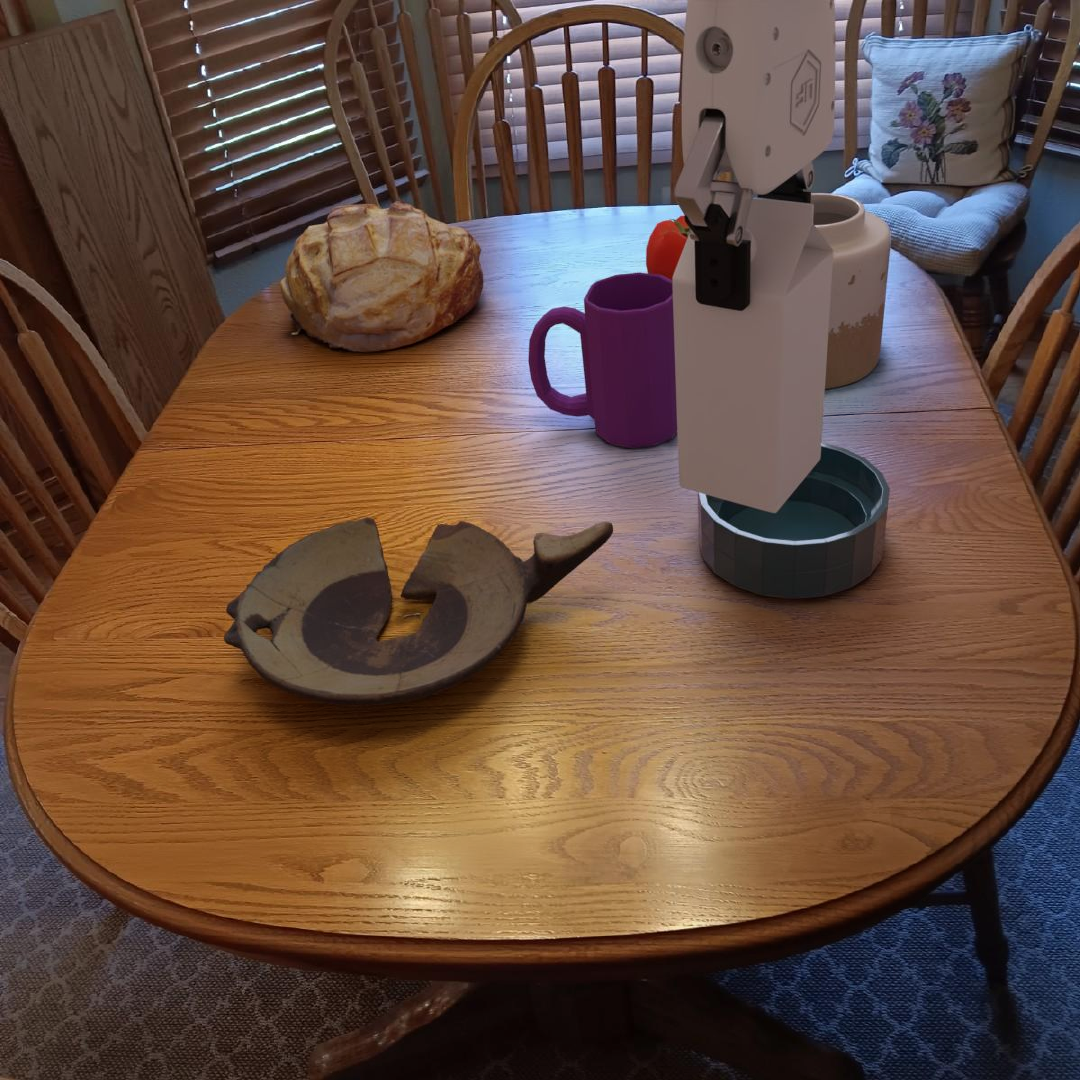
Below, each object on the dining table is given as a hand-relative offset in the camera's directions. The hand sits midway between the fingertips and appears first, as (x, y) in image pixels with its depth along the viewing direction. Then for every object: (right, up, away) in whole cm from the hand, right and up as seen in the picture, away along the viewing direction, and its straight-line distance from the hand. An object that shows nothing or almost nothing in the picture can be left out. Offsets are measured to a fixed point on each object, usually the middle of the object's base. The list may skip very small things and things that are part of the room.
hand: (753, 277), depth 63 cm
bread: (-33, +14, +76) cm, 84 cm away
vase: (+17, +4, +53) cm, 56 cm away
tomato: (+6, +16, +71) cm, 73 cm away
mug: (-6, -4, +46) cm, 47 cm away
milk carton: (+1, -12, +9) cm, 14 cm away
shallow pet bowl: (+9, -16, +27) cm, 33 cm away
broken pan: (-22, -24, +22) cm, 40 cm away
